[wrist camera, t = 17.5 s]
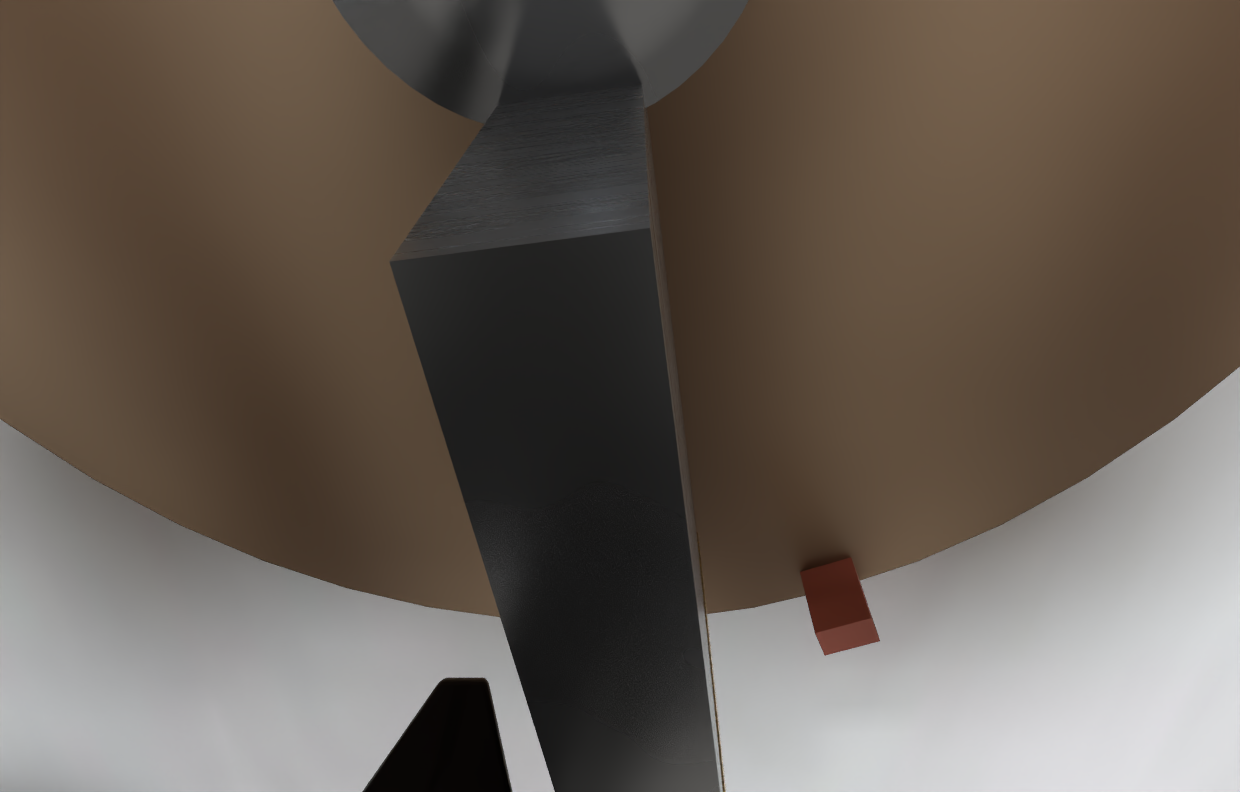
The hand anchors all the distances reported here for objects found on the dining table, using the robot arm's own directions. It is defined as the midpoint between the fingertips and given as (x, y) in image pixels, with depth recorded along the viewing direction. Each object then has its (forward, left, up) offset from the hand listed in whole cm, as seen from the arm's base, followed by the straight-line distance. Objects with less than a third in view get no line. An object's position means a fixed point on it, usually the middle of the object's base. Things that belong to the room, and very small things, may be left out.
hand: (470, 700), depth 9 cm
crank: (+3, +3, -3) cm, 5 cm away
